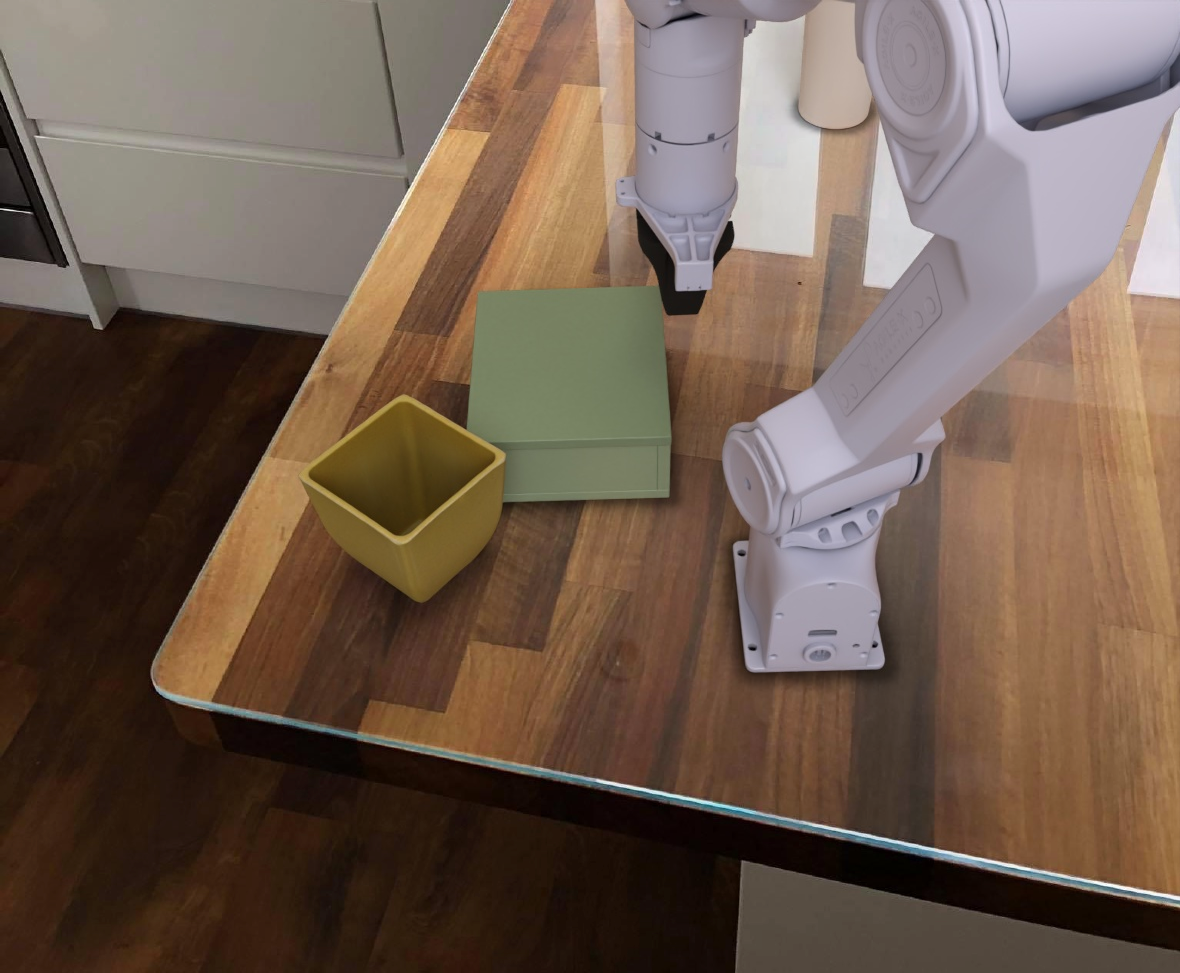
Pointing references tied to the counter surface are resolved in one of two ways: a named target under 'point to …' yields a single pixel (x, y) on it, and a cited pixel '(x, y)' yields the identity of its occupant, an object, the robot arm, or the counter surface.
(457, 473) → the flower pot
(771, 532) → the robot arm
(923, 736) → the counter surface
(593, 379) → the bread lid
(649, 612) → the counter surface
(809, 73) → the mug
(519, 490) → the bread box
